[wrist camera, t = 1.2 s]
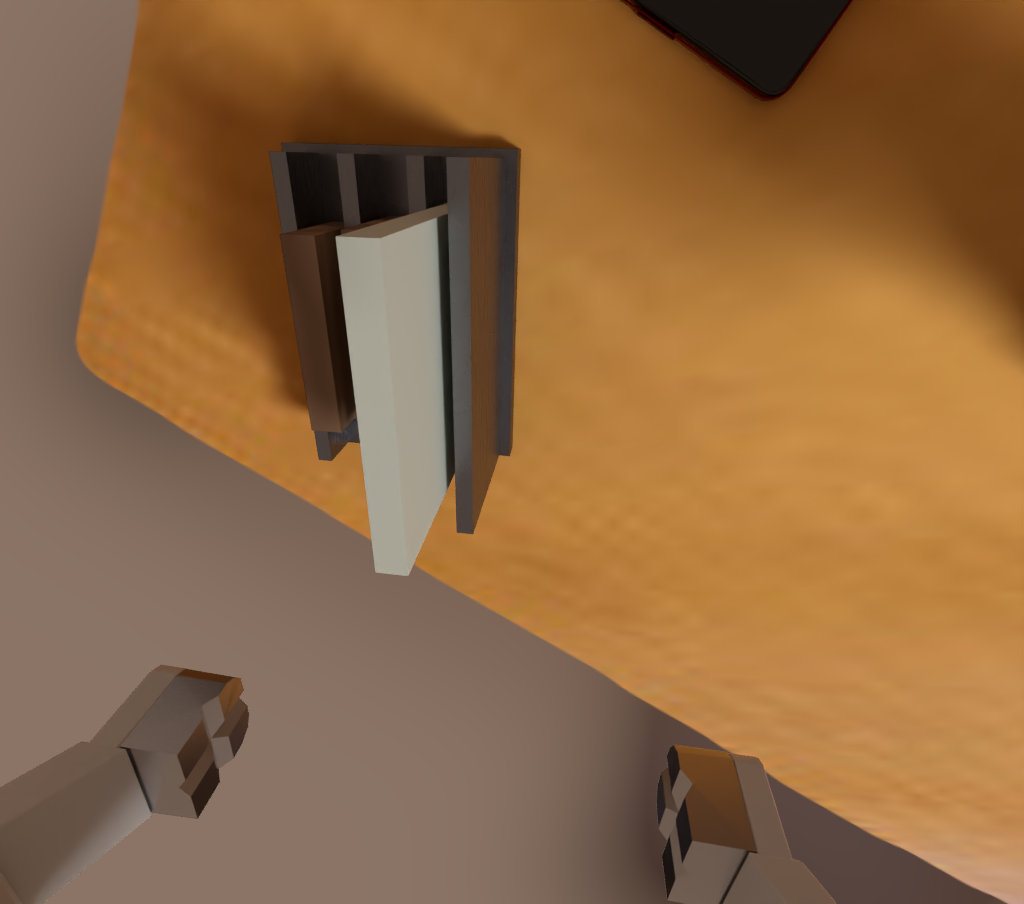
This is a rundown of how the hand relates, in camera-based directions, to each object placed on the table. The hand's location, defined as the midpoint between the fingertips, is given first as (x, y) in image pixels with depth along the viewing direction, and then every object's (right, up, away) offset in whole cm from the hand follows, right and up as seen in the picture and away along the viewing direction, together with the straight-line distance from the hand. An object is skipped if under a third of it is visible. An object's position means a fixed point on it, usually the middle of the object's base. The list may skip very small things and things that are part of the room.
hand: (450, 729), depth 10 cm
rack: (-6, +15, +30) cm, 34 cm away
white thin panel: (-2, +14, +28) cm, 31 cm away
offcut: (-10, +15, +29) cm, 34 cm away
